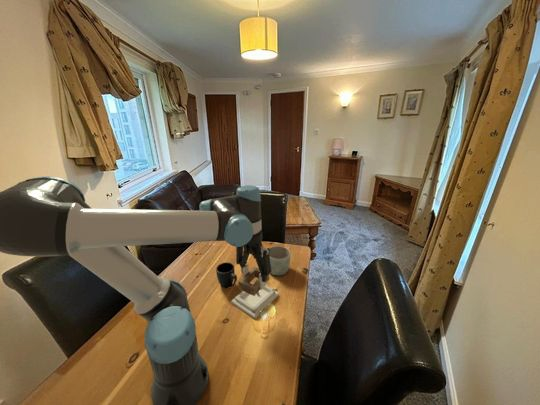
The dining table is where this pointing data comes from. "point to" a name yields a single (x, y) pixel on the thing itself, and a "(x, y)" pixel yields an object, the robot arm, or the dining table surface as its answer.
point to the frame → (245, 281)
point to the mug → (226, 275)
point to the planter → (279, 260)
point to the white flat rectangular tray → (255, 300)
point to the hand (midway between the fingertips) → (254, 283)
